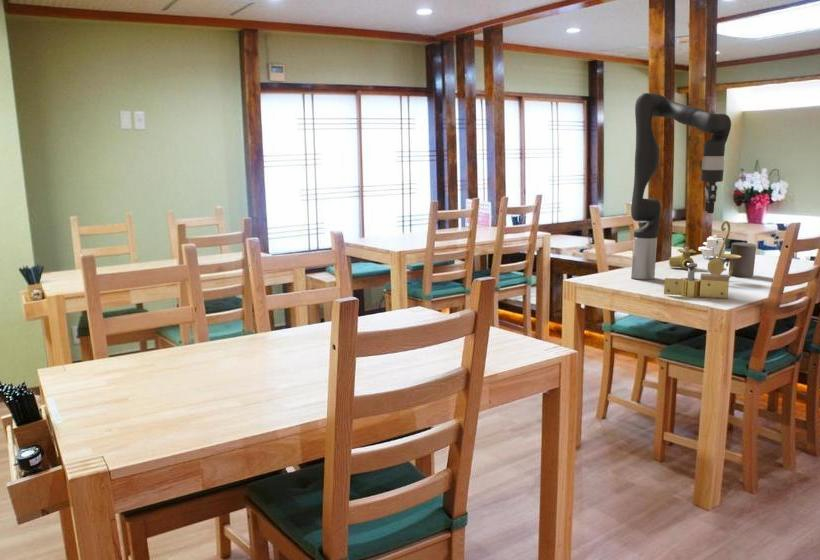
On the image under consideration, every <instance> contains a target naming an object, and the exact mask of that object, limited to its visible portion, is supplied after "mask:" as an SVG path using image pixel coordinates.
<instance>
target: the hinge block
mask: <svg viewBox="0 0 820 560" xmlns="http://www.w3.org/2000/svg"><path fill="white" fill-rule="evenodd" d="M699 278H700V279H699ZM699 278H695V277H694V281H692V280H688V277H681V278H671V277H670V278H669V277H668V278H667V277H665V278H664V286H663V288H664V289H663V295H668V296H669V295H672V296H680V295H681V296H680V297H683V296H684V297H683V298H693V299H694V298H702V299H705V298H706V299H721V300H722V299H723V300H728V296H729V284H730V278H729V276H728V274H722V273H721V274H711V273H700V277H699Z"/></svg>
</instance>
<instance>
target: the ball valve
mask: <svg viewBox="0 0 820 560" xmlns="http://www.w3.org/2000/svg"><path fill="white" fill-rule="evenodd" d="M677 251H678V252H679V253H680V254H681V255H680V256H670V257H669V259H668V260H669V261H668V264H669V267H670V268H671V267H672V268H681V269H682V270H684V269H688V267H687V263H695V261H694V259H693V258H692V257H691V254H696V253H697V251H696V250H694V249H689V246H684V249H680V248H679V249H677Z"/></svg>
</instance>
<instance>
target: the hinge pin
mask: <svg viewBox="0 0 820 560" xmlns="http://www.w3.org/2000/svg"><path fill="white" fill-rule="evenodd" d="M687 267H688V270H687V278H688V280H692V281H694V278H695V272H696V271H695V270H696V268H698V263H696V262H694V263H687Z"/></svg>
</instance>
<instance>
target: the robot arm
mask: <svg viewBox="0 0 820 560" xmlns="http://www.w3.org/2000/svg"><path fill="white" fill-rule="evenodd" d="M634 106H635V107H634V113H635V114H634V115H635V116H634V117H635V152H634V153H635V155H634V176H633V177H634V178H633V181H634V182H633V189H632V198H631V207H630V212H631V214H630V215H631V219H632V220H633V221H635V222H646V224H645V225H643V226H642V227H639V228H637V229H635V230H634V231H633V243H632V244H633V245H632V257H631V258H632V259H631V262H632V263H631V274H630V275H631V276H630V277H631V279H636V280H647V281H648V280H654V279H655V276H656V275H655V274H656V261H657V260H656V258H657V245H658V234H659V233H658V232H659V228H660V219H661V210H662V209H661V208H662V207H661V201H660V200H659V199H657V198H644V194H645V190H646V187H647V186H648V183H649V182H650V180H651V179H652V177H653V176H654V174H655V173H656V172H657V169H658V167H659V162H660V158H659V157H660V149H659V144H658V142H657V140H656V139H657V138H656V137H655V135H654V131H653V126H652V123H653V120H652V119H653V118H656V117H657V118H658V117H660V118H669V119H672V120H674V121H676V122H678V123H679V124H682V125H685V126H689V127H692V128H696V129H698V130H700V131H701V132H704V133H708V134H711V137H710V139H708V140H707V141H705V143H704V146H703V159H702V163H701V174H700V175H701V176H700V180H701V182H705V183H706V184H705V186H704V201H705V204H704V205H705V207H704V210H705V211H704V212H706V213H707V214H713V213H714V212H715V203H716V202H717V199H716V198H717V196H718V195H717V193H718V186H717V185H716V183H721V182H723V180H724V170H725V153H726V152H725V151H726V149H725V148H726V143H727V141H728V138H729V135H730V131H731V127H732V120H731V118H730V116H729V115H728V114H726V113H713V112H708V111H706V110H705V109H702V108H699V107H695V106H691V105H687V104H682V103H679V102H675V101H673V100H671V99H669V98H667V97H665V96H664V95H661V93H660V94H659V93H651V92H643V93H641V94H639V95H638V97H637V98H636V100H635V105H634Z"/></svg>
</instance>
